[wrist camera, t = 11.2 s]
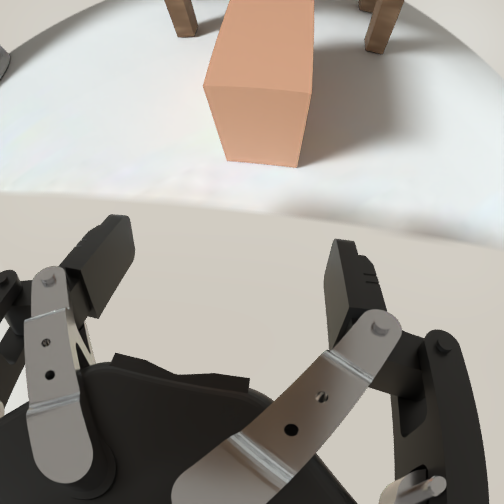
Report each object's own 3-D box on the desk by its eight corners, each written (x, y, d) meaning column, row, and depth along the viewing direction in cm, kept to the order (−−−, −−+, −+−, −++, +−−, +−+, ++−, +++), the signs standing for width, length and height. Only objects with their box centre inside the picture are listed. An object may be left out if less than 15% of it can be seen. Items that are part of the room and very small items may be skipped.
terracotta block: (227, 160, 19) (202, 85, 11) (246, 60, 20) (236, -19, 13) (296, 167, 19) (311, 93, 11) (304, 66, 20) (314, -14, 12)
